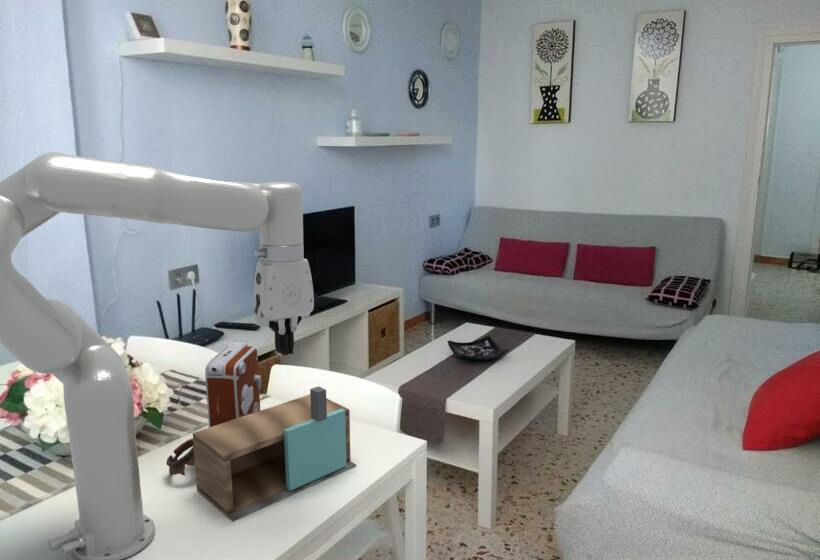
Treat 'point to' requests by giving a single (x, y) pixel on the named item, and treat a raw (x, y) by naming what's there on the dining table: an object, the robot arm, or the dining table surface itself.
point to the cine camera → (232, 384)
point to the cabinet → (253, 458)
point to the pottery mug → (187, 459)
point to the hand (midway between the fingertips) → (284, 352)
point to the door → (315, 443)
